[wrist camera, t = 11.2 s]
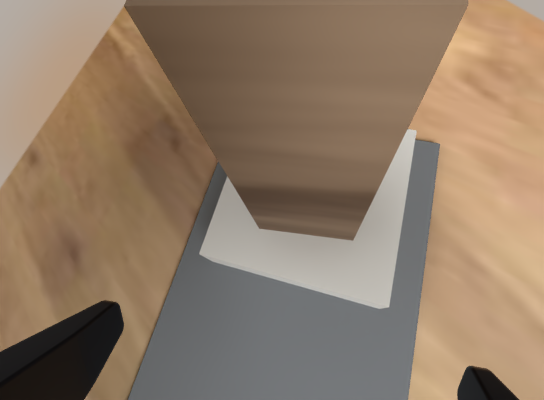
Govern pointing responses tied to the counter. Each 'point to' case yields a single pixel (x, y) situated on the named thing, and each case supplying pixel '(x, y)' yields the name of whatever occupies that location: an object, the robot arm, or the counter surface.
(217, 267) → the build board
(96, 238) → the counter surface
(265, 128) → the walnut pillar block
